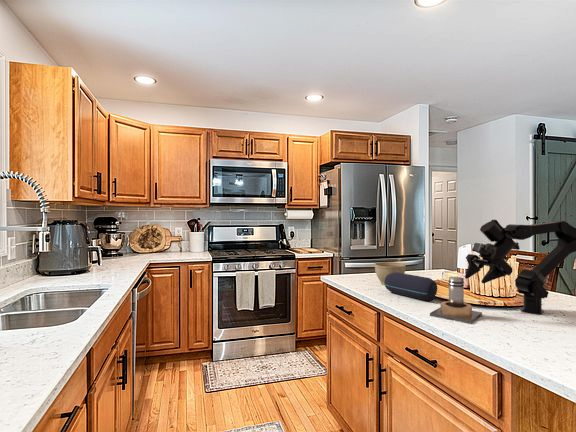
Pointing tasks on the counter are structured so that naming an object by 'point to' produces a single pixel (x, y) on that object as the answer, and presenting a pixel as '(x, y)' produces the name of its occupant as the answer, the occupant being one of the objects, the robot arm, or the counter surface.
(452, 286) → the steel piston
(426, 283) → the portable speaker
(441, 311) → the piston socket base
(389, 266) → the planter bowl
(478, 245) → the robot arm
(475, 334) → the counter surface
